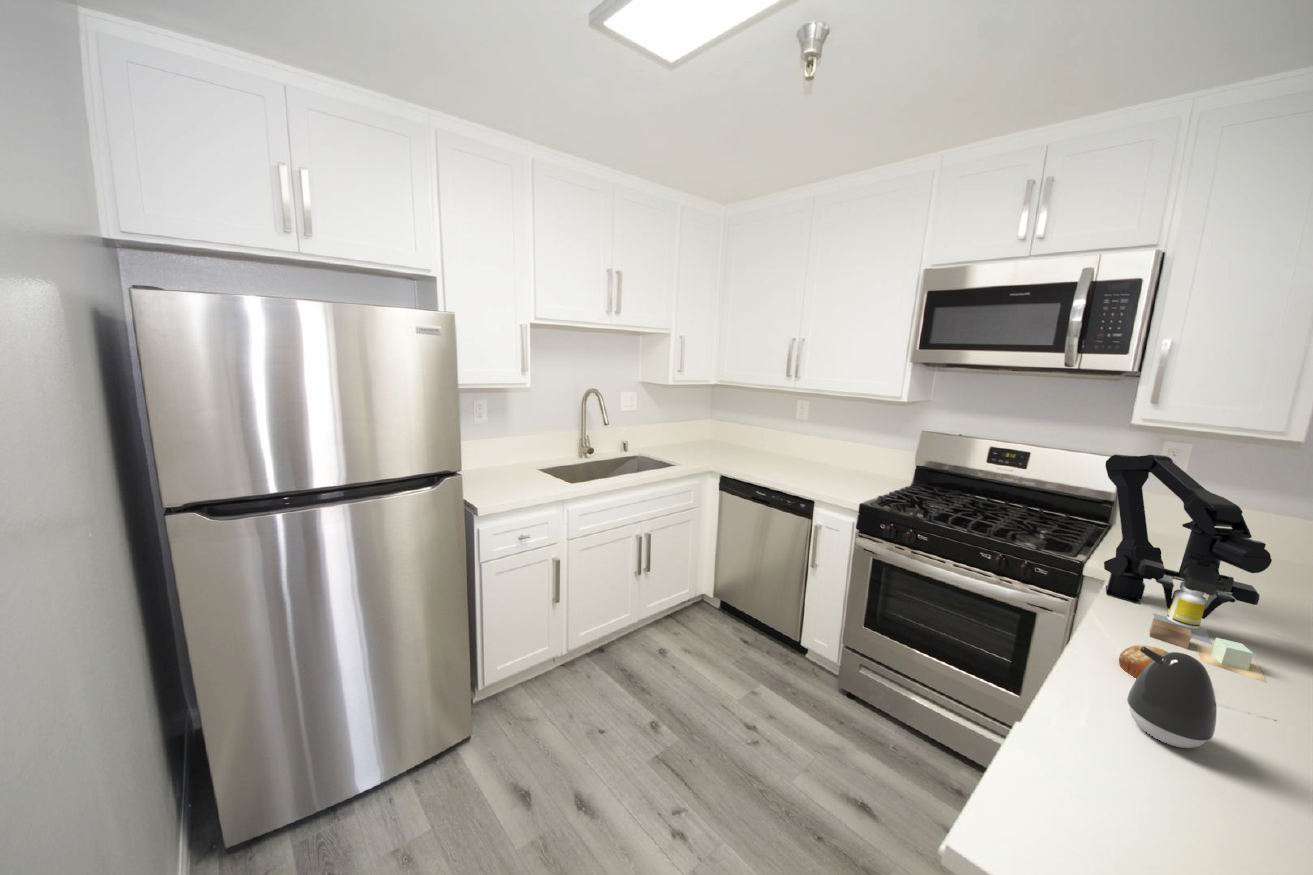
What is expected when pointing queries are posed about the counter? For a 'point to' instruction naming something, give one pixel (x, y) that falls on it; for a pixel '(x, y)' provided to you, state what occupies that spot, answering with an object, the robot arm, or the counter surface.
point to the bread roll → (1137, 659)
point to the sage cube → (1232, 654)
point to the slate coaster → (1195, 632)
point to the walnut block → (1170, 633)
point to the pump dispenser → (1174, 700)
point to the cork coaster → (1210, 659)
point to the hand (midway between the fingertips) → (1184, 613)
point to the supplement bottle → (1186, 607)
